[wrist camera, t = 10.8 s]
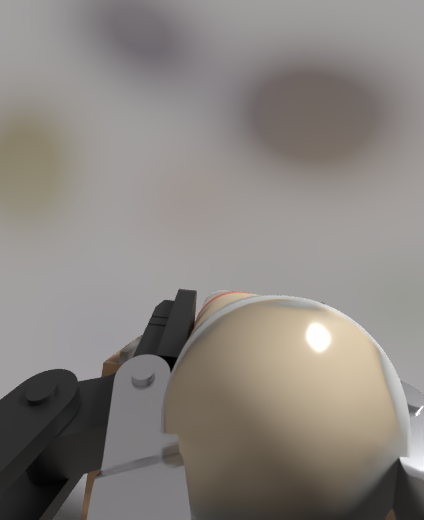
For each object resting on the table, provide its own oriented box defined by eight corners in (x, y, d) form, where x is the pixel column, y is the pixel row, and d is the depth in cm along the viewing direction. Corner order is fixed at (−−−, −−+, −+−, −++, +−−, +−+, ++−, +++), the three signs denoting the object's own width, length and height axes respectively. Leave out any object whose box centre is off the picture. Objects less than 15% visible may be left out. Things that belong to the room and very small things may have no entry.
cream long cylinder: (414, 580, 4) (408, 306, 4) (145, 554, 4) (175, 285, 4) (243, 336, 24) (246, 292, 24) (199, 332, 24) (203, 288, 24)
